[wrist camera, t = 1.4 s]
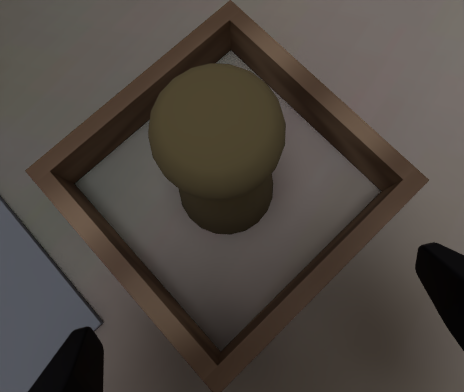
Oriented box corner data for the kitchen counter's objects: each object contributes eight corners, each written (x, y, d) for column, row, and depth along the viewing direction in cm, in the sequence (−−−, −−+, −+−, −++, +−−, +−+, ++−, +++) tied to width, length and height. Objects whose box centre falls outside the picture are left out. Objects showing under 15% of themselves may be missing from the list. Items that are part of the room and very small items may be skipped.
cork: (262, 244, 22) (285, 220, 11) (168, 223, 22) (102, 180, 11) (281, 153, 23) (318, 51, 12) (192, 134, 23) (151, 20, 13)
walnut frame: (404, 191, 22) (429, 180, 19) (219, 377, 20) (216, 396, 17) (231, 31, 25) (230, -1, 22) (52, 183, 23) (25, 170, 20)
